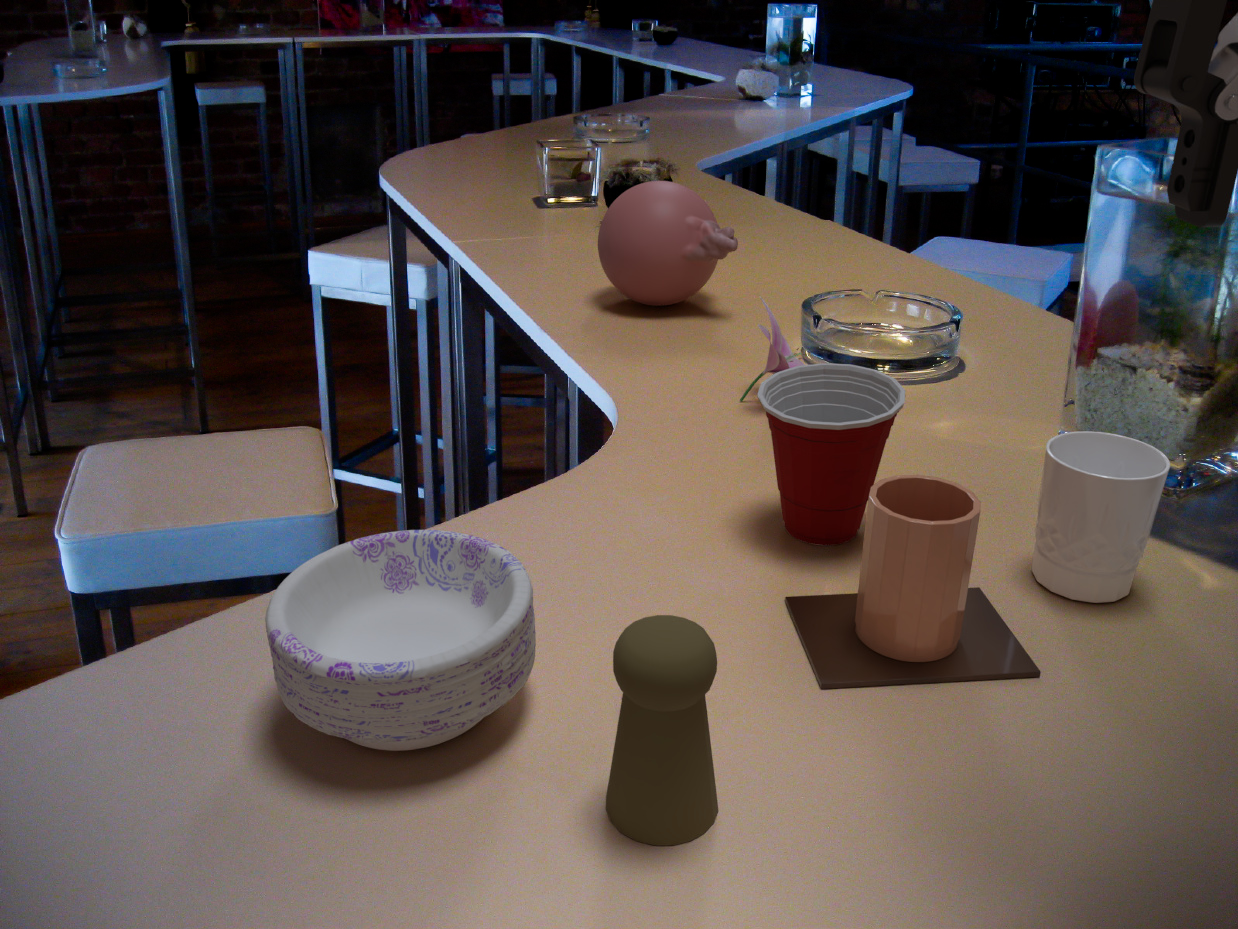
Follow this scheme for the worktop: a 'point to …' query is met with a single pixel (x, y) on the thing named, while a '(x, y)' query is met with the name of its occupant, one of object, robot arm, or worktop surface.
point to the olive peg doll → (663, 732)
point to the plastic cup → (828, 444)
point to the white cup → (1095, 513)
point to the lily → (776, 351)
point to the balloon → (661, 243)
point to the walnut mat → (853, 664)
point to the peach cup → (916, 566)
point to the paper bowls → (402, 637)
